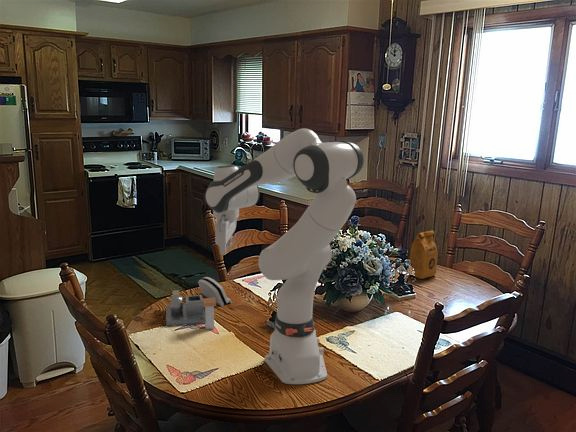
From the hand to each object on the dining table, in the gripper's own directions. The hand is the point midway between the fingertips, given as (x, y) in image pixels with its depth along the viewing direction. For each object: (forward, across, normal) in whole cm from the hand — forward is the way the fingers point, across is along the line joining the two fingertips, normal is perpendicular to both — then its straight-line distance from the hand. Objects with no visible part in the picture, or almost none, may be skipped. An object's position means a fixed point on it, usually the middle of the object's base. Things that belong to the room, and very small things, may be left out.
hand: (225, 249), depth 172 cm
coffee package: (+28, +61, -83) cm, 107 cm away
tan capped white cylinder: (+28, -4, +5) cm, 29 cm away
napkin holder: (+29, +22, +9) cm, 38 cm away
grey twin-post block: (+29, +5, +16) cm, 33 cm away
